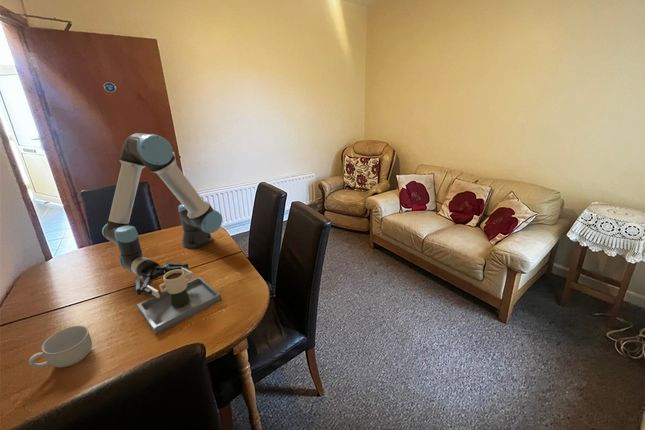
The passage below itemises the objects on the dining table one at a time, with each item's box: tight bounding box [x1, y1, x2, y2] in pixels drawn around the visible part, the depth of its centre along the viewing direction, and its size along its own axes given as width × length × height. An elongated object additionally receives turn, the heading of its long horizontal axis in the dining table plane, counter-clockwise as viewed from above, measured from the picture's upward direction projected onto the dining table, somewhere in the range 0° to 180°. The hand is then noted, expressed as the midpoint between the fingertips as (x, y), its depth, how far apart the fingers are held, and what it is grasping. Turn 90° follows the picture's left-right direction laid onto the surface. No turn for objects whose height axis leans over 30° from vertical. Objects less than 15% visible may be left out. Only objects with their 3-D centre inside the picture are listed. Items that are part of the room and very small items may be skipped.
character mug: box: [158, 269, 192, 307], centre depth 107 cm, size 11×7×13 cm, turn 136°
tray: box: [136, 276, 223, 336], centre depth 109 cm, size 24×18×3 cm
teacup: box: [28, 325, 93, 369], centre depth 86 cm, size 14×11×8 cm
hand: (176, 284), depth 106 cm, fingers open, 13 cm apart
